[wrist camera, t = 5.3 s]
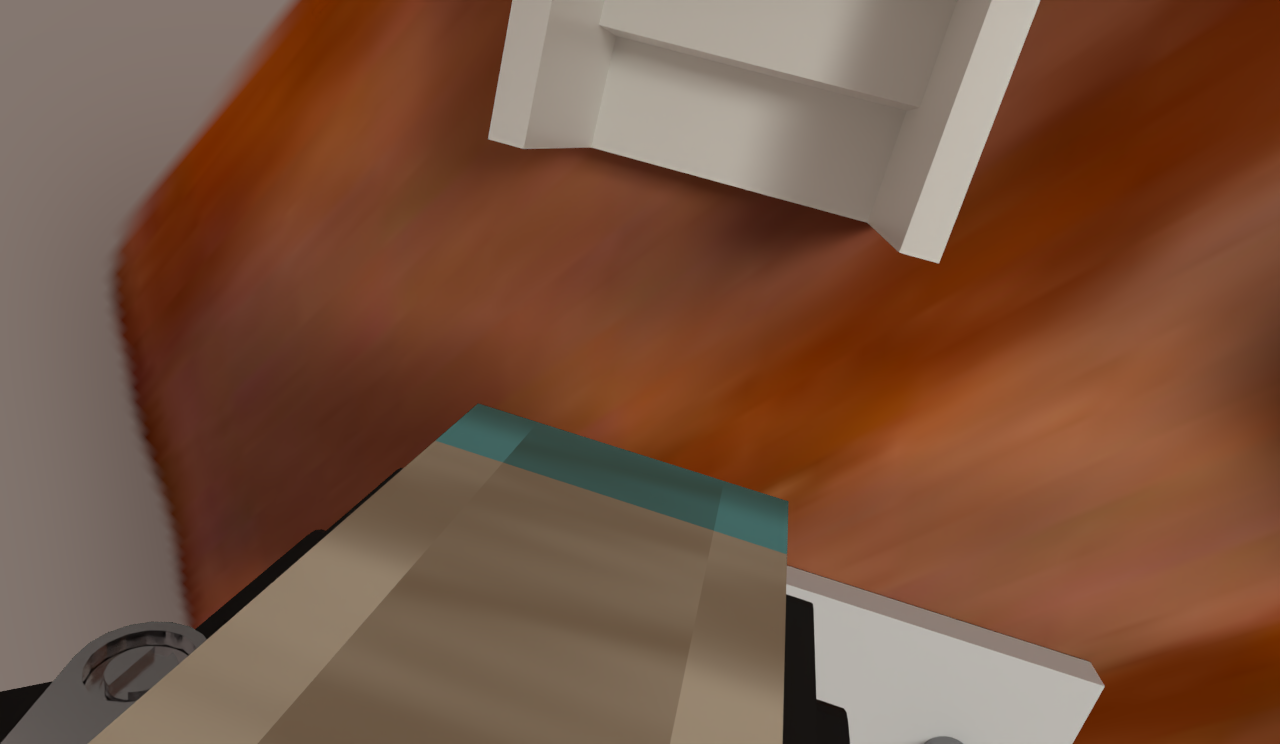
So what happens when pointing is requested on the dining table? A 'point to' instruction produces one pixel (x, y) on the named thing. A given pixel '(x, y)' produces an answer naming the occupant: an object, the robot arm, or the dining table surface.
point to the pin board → (937, 674)
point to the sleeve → (505, 610)
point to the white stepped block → (774, 96)
